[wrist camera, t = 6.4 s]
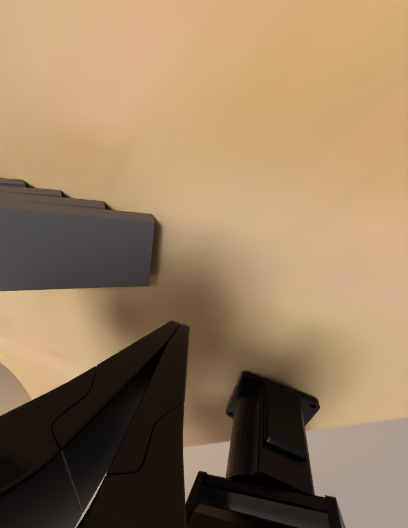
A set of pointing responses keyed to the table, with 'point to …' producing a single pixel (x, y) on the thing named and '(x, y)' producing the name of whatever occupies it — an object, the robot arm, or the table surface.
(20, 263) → the domino
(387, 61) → the table surface
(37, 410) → the robot arm
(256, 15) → the table surface
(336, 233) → the table surface
